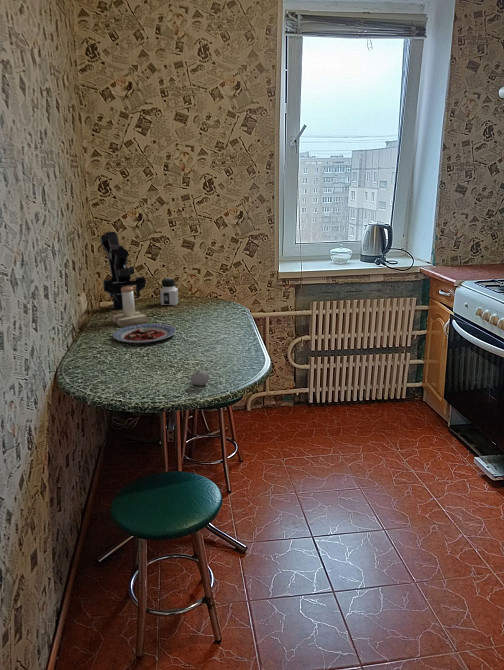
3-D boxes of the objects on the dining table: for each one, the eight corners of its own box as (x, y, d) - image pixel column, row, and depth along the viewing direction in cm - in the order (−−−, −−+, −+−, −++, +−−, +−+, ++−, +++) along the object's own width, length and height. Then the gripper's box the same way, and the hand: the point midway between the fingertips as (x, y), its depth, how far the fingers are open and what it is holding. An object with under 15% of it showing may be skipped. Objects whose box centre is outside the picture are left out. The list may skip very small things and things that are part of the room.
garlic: (196, 389, 168) (195, 373, 167) (187, 384, 172) (187, 368, 171) (212, 384, 172) (212, 369, 170) (204, 379, 176) (203, 364, 174)
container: (176, 305, 274) (174, 280, 270) (161, 305, 274) (159, 280, 270) (178, 302, 281) (176, 277, 277) (163, 302, 281) (161, 277, 278)
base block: (113, 321, 248) (112, 314, 247) (137, 317, 254) (137, 310, 253) (121, 326, 238) (121, 320, 237) (147, 322, 244) (146, 316, 243)
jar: (125, 313, 248) (123, 286, 244) (137, 313, 247) (134, 286, 243) (121, 316, 243) (119, 288, 239) (133, 317, 242) (131, 288, 238)
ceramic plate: (163, 348, 209) (163, 341, 208) (102, 345, 214) (101, 338, 213) (184, 329, 233) (184, 322, 232) (129, 327, 238) (128, 320, 237)
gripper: (101, 262, 239) (107, 291, 233) (143, 259, 246) (150, 287, 239) (100, 276, 249) (106, 305, 242) (141, 273, 255) (148, 301, 249)
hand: (128, 299), depth 243 cm, fingers open, 9 cm apart
